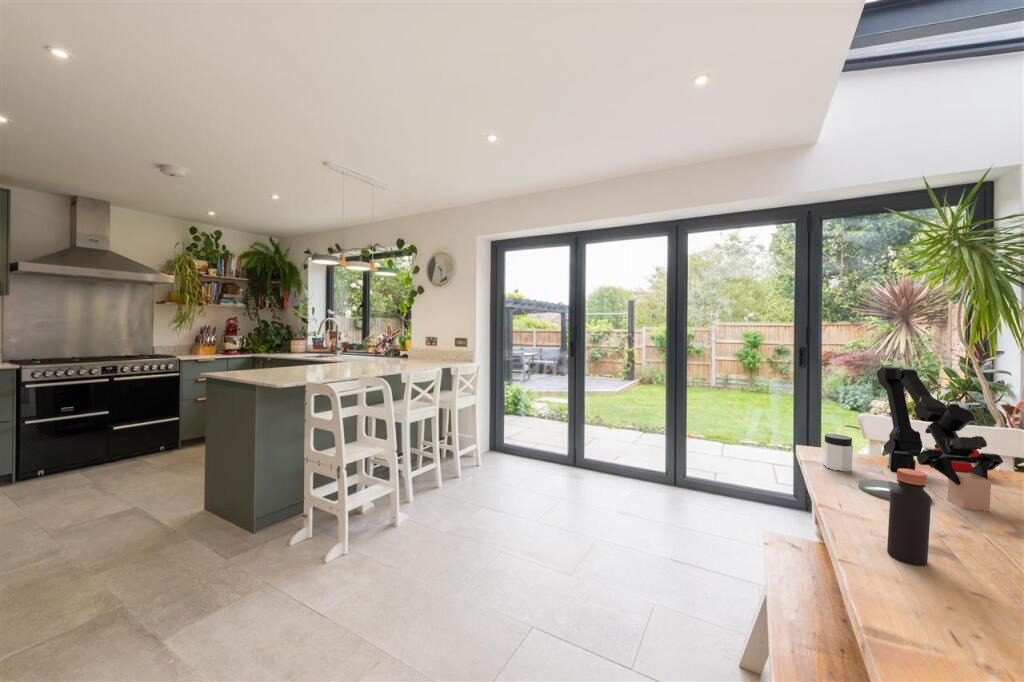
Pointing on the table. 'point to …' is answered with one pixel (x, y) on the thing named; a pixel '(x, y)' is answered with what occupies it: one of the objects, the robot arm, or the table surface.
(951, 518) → the table surface
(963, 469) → the tomato
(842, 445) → the jar
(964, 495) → the tan rectangular block
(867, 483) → the plate
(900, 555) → the bottle
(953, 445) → the robot arm
